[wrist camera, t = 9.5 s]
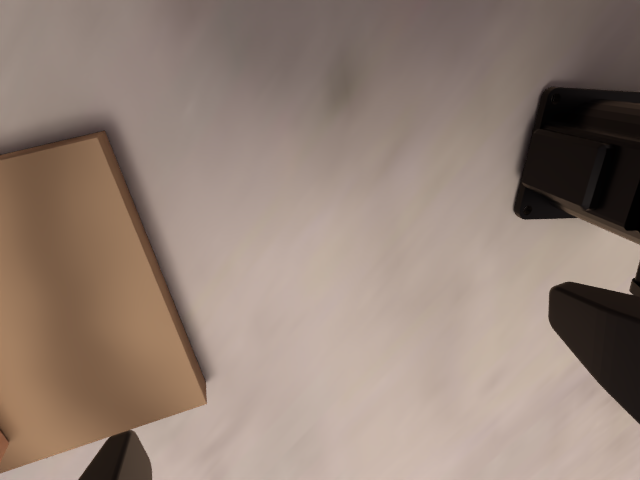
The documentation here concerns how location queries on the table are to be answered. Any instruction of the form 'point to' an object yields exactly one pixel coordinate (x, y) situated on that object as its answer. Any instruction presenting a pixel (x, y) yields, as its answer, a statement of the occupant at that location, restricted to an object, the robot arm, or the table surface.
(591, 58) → the table surface
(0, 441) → the tile
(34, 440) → the board
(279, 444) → the table surface
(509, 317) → the table surface
